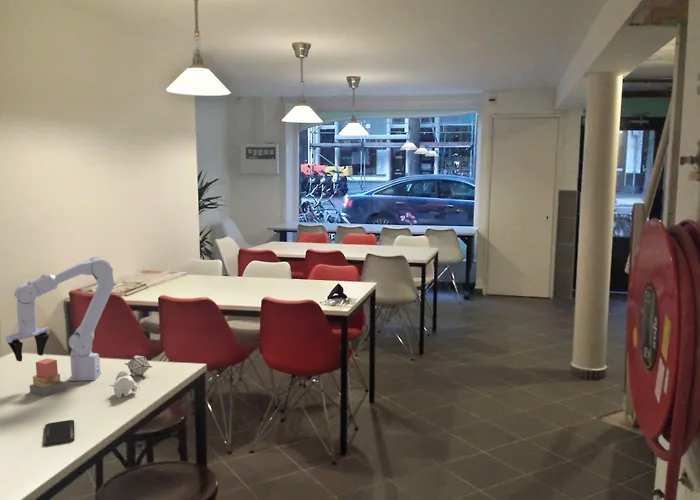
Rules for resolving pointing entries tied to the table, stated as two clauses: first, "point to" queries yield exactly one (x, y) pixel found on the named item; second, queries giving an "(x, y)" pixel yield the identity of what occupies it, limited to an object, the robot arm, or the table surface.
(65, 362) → the table surface
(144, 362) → the grey geodesic polyhedron
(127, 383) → the elephant figurine
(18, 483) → the table surface
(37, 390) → the charcoal base tile
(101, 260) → the robot arm
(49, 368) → the red block
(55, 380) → the oak tile
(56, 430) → the phone
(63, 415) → the table surface
